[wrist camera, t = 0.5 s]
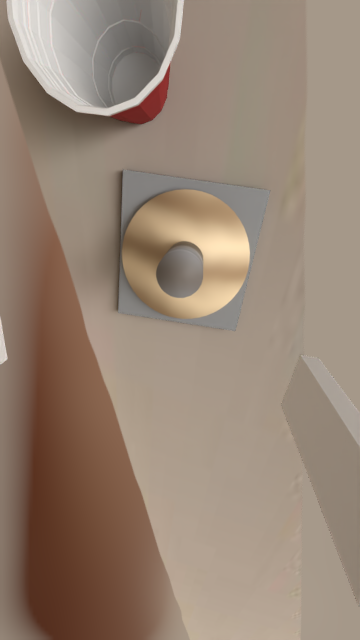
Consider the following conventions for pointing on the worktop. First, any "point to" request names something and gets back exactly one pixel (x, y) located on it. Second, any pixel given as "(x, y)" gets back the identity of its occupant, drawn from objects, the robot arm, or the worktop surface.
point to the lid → (185, 254)
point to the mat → (239, 199)
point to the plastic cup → (100, 52)
